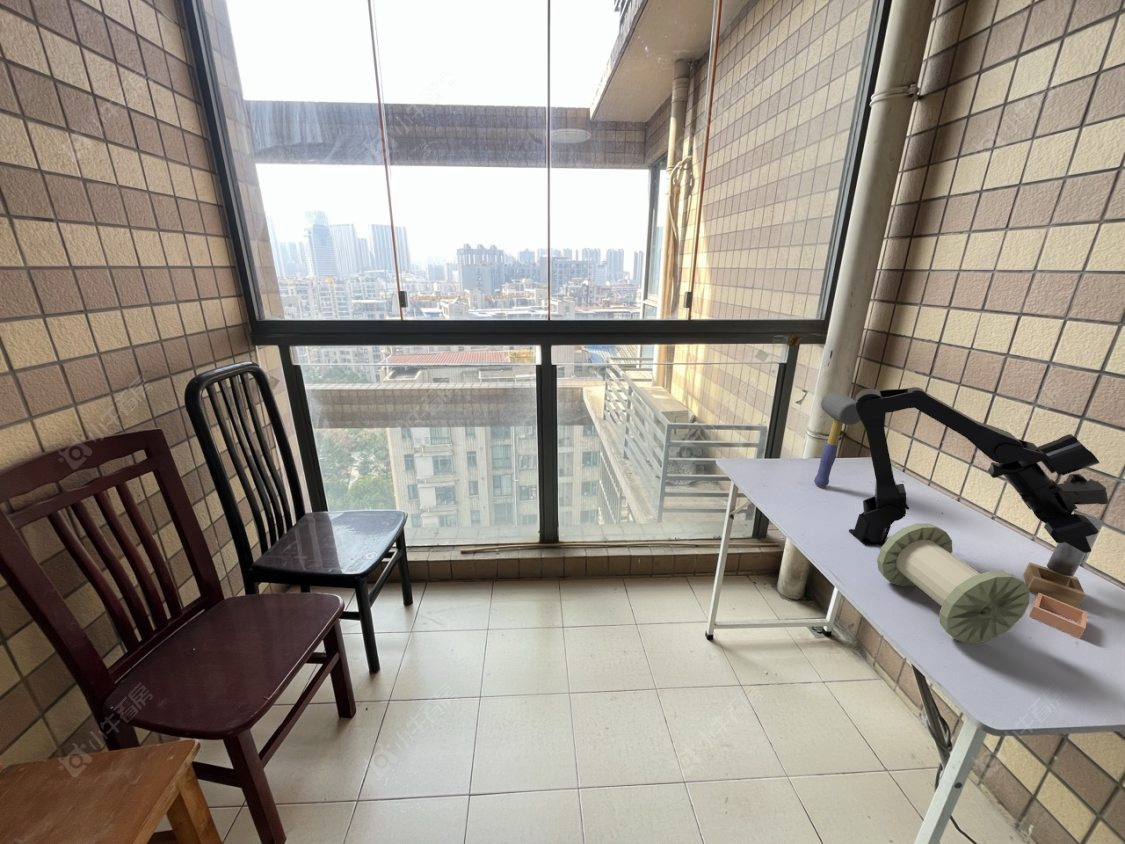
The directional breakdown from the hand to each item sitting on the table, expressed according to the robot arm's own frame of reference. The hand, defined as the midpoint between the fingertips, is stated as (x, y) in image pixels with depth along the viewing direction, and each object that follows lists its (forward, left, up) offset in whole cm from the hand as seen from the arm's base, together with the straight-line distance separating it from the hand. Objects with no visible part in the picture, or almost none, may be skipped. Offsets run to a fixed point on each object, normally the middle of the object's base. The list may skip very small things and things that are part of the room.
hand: (1083, 546), depth 89 cm
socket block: (-9, -7, -12) cm, 17 cm away
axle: (-1, +1, -7) cm, 7 cm away
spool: (-32, -4, -12) cm, 35 cm away
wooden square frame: (-1, +1, -12) cm, 12 cm away
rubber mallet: (-23, +48, -12) cm, 55 cm away
